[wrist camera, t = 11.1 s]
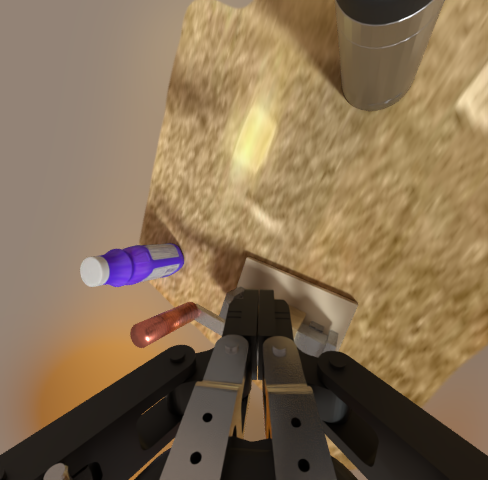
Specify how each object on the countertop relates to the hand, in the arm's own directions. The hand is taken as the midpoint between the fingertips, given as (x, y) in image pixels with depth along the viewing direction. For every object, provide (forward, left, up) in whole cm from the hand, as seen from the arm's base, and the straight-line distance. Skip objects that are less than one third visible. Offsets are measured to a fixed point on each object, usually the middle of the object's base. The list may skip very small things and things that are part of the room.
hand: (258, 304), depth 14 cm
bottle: (-4, -28, -30) cm, 41 cm away
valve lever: (+6, -12, -18) cm, 22 cm away
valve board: (+9, -8, -30) cm, 32 cm away
